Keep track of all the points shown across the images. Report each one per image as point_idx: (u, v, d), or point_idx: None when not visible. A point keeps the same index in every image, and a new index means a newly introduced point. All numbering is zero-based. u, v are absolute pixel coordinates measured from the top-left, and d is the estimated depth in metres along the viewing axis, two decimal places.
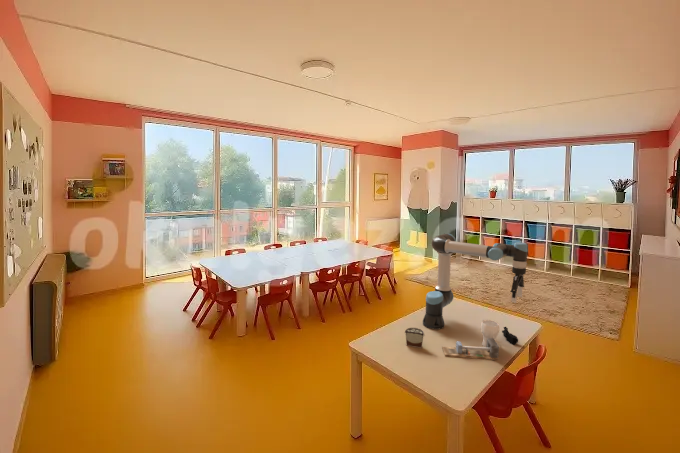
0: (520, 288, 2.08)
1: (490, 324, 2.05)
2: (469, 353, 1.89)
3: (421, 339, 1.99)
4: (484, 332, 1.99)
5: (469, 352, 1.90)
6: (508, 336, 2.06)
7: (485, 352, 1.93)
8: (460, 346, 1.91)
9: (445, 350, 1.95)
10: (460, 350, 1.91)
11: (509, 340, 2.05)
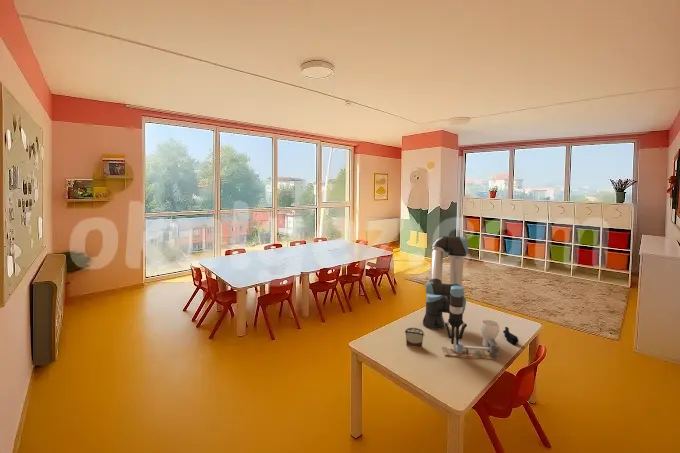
0: None
1: (490, 324, 2.05)
2: (469, 353, 1.89)
3: (421, 339, 1.99)
4: (484, 332, 1.99)
5: (469, 352, 1.90)
6: (508, 336, 2.06)
7: (485, 352, 1.93)
8: (461, 346, 1.91)
9: (445, 350, 1.95)
10: (461, 350, 1.91)
11: (509, 340, 2.05)
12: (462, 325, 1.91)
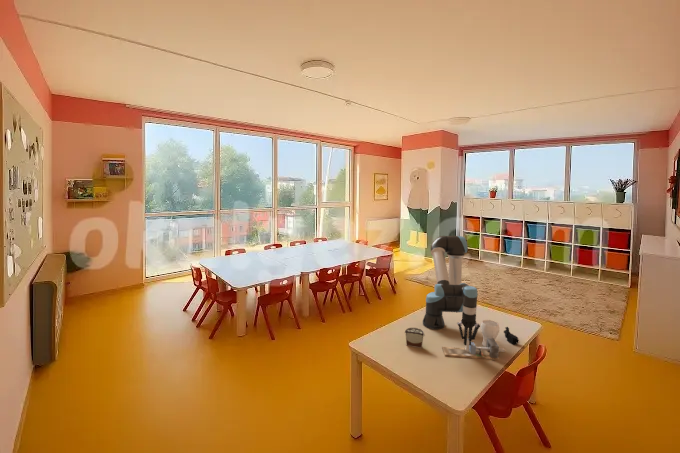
0: None
1: (490, 324, 2.05)
2: (482, 354, 1.88)
3: (421, 339, 1.99)
4: (484, 332, 1.99)
5: (482, 353, 1.89)
6: (509, 336, 2.06)
7: (485, 352, 1.93)
8: (474, 347, 1.90)
9: (445, 350, 1.95)
10: (474, 351, 1.90)
11: (509, 340, 2.05)
12: (475, 326, 1.90)
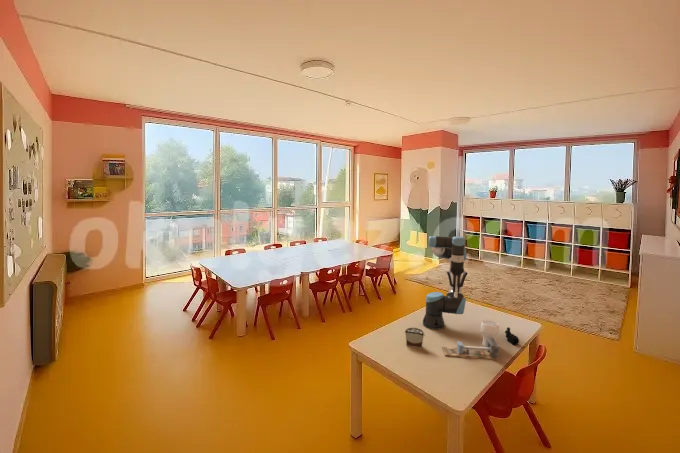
0: None
1: (490, 324, 2.05)
2: (482, 354, 1.88)
3: (421, 339, 1.99)
4: (484, 332, 1.99)
5: (482, 353, 1.89)
6: (509, 336, 2.06)
7: (485, 352, 1.93)
8: (461, 346, 1.90)
9: (445, 350, 1.95)
10: (461, 350, 1.91)
11: (510, 340, 2.05)
12: (463, 273, 2.02)
